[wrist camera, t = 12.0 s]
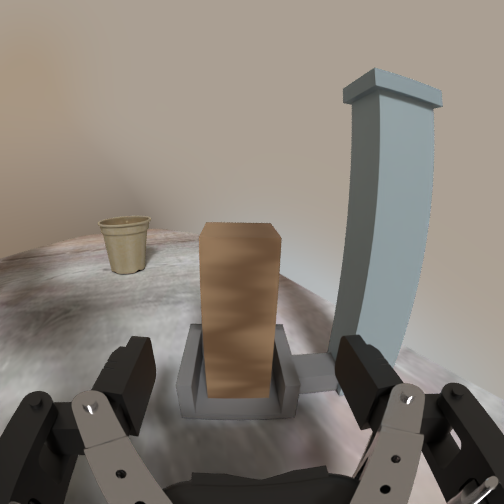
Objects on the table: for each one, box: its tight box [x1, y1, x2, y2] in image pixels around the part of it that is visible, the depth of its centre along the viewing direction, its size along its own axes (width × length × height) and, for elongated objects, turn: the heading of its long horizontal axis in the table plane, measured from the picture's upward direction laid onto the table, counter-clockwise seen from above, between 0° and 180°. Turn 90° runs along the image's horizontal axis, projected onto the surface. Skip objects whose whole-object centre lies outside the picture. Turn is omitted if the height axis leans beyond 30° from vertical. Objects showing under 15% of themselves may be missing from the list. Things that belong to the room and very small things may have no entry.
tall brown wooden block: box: [199, 222, 281, 399], centre depth 19 cm, size 4×4×12 cm
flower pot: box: [98, 216, 151, 274], centre depth 45 cm, size 9×9×9 cm
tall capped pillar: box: [176, 68, 443, 420], centre depth 18 cm, size 17×8×23 cm, turn 93°
